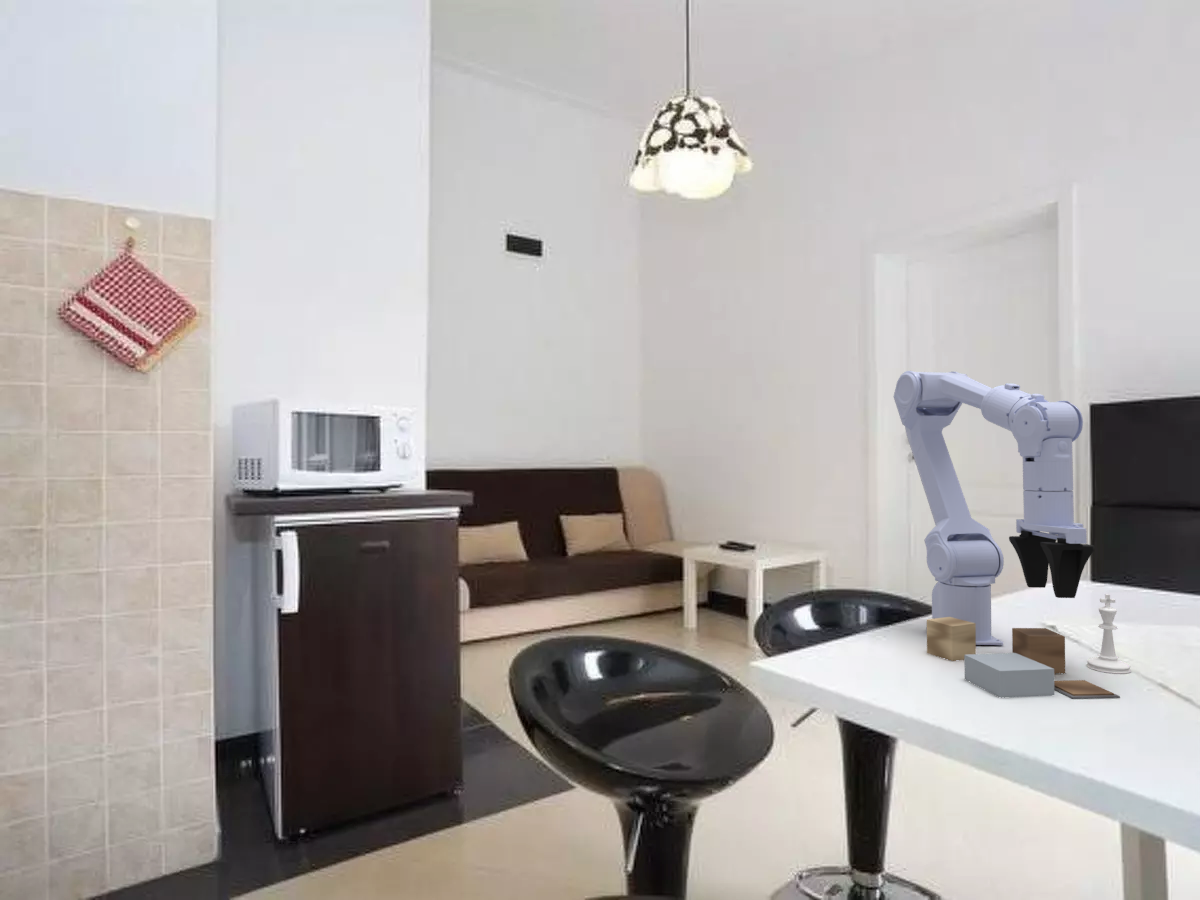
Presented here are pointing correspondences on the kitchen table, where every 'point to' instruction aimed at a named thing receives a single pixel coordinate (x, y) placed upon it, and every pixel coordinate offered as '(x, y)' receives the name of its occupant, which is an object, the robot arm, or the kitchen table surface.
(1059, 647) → the walnut block
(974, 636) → the oak block
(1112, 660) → the chess piece
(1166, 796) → the kitchen table surface
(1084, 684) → the walnut swatch
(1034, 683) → the base block
